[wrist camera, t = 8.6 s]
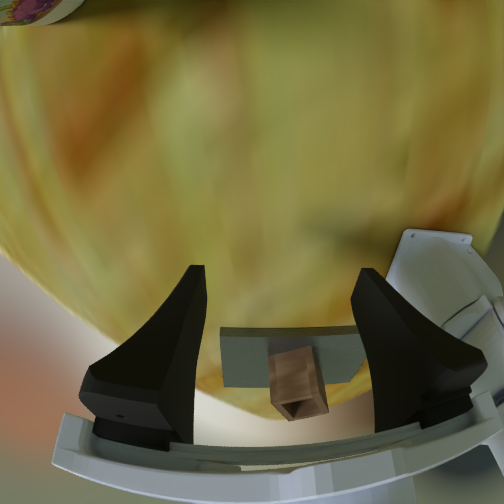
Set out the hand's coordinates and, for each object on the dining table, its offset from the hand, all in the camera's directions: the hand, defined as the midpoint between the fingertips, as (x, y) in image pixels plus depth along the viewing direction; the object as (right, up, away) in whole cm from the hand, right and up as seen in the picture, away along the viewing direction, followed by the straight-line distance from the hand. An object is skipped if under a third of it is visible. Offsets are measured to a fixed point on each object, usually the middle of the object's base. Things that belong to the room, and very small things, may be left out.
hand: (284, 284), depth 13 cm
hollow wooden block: (+4, -12, +19) cm, 23 cm away
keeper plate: (+4, -12, +20) cm, 24 cm away
